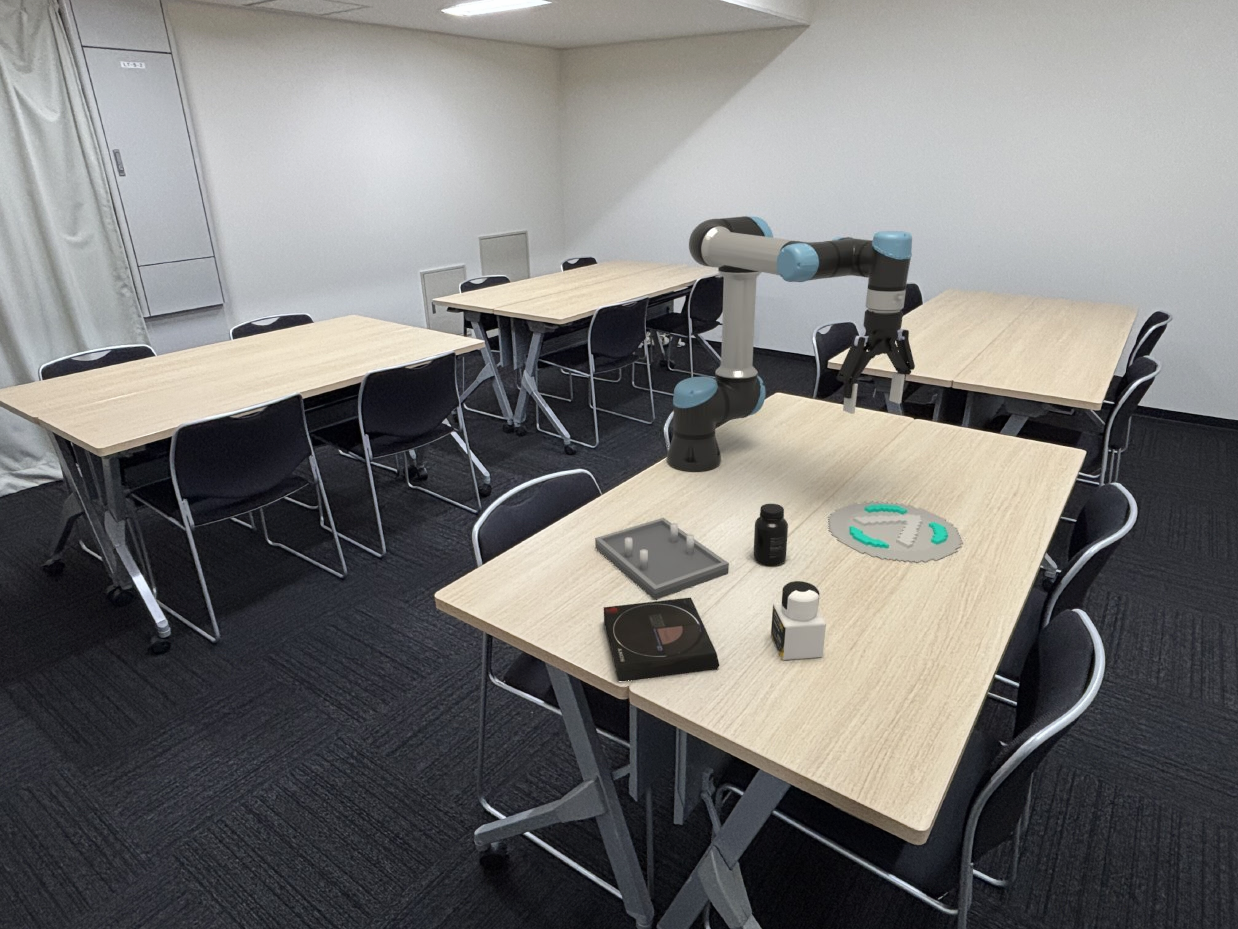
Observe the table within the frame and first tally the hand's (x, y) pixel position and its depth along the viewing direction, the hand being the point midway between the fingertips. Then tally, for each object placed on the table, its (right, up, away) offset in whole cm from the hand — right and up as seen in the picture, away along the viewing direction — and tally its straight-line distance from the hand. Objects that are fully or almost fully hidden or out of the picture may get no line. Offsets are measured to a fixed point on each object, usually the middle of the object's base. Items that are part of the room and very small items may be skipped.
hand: (872, 407), depth 156 cm
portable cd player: (-49, -45, -31) cm, 73 cm away
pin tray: (-47, -33, -5) cm, 58 cm away
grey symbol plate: (+7, -28, +6) cm, 30 cm away
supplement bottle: (-24, -33, -5) cm, 41 cm away
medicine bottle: (-25, -45, -32) cm, 60 cm away
